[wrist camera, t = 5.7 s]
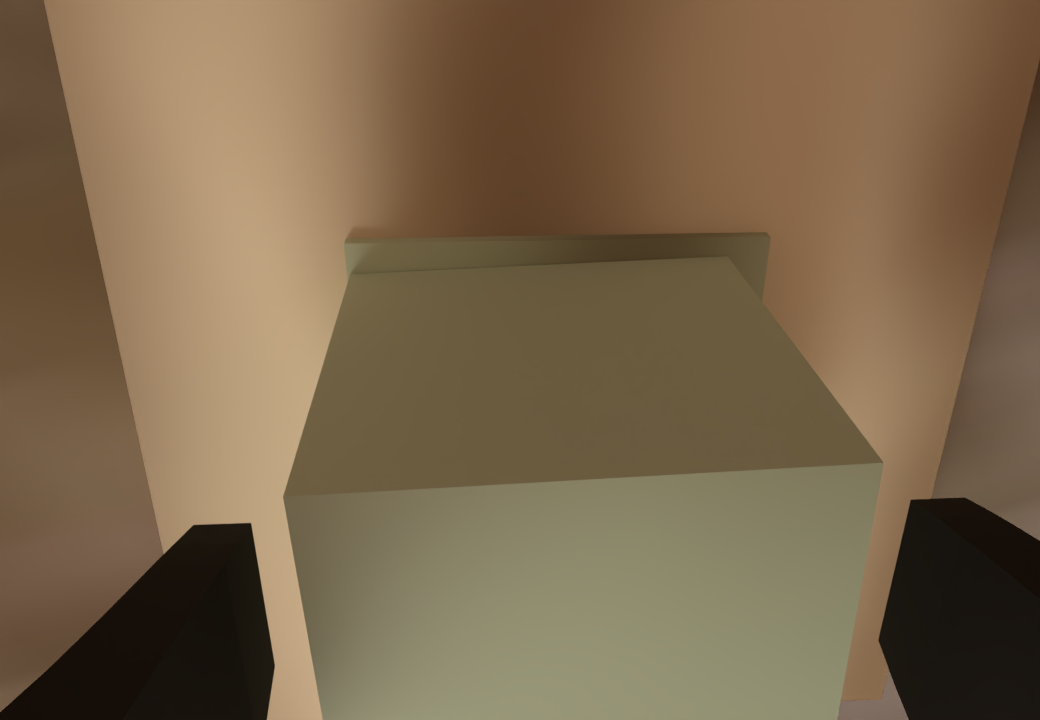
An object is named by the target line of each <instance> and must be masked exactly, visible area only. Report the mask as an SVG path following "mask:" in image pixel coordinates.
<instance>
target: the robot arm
mask: <svg viewBox="0 0 1040 720" xmlns="http://www.w3.org/2000/svg"><path fill="white" fill-rule="evenodd" d="M878 641H879V644H880V646H881V649H882V652H883V654H884V657H885V660H886V662H887V665H888V668H889V671H890V673H891V676H892V679H893V681H894V684H895V687H896V689H897V692H898V694H899V696H900V699H901V701H902V704H903V706H904V709H905V711H906V714H907V716H908V718H909V720H1040V541H1039V540H1037V539H1036V538H1034V537H1032V536H1031V535H1029V534H1028V533H1026V532H1024V531H1023V530H1021V529H1019V528H1018V527H1016V526H1014V525H1013V524H1011V523H1009V522H1008V521H1006V520H1004V519H1003V518H1001V517H999V516H997V515H996V514H994V513H992V512H990V511H989V510H987V509H985V508H983V507H981V506H980V505H978V504H976V503H974V502H972V501H970V500H968V499H966V498H942V499H913V500H910V505H909V509H908V513H907V518H906V522H905V526H904V531H903V535H902V539H901V544H900V548H899V552H898V557H897V561H896V565H895V570H894V574H893V578H892V583H891V587H890V591H889V596H888V600H887V604H886V609H885V613H884V617H883V622H882V626H881V630H880V635H879V639H878ZM274 669H275V663H274V657H273V651H272V645H271V639H270V633H269V627H268V621H267V615H266V609H265V603H264V597H263V591H262V585H261V579H260V573H259V567H258V561H257V555H256V549H255V543H254V537H253V531H252V525H251V523H233V524H204V525H193V526H192V527H191V528H190V529H189V530H188V531H187V532H186V533H185V534H184V535H183V536H182V537H181V538H180V539H179V540H178V541H177V542H176V543H175V544H174V545H172V546H171V547H170V548H169V549H168V550H167V551H166V552H165V553H164V554H163V556H162V557H161V558H160V559H159V560H158V561H157V562H156V563H155V564H154V565H153V566H152V567H151V568H150V569H149V570H148V571H147V572H146V573H145V574H144V575H143V576H142V577H141V578H140V579H139V580H138V581H137V582H136V583H135V584H134V585H133V586H132V587H131V588H130V589H129V590H128V591H127V592H126V593H125V594H124V595H123V596H122V597H121V598H120V599H119V600H118V601H117V602H116V603H115V604H114V605H113V606H112V607H111V608H110V609H109V610H108V611H107V612H106V613H105V614H104V615H103V616H102V617H101V618H100V619H99V620H98V621H97V622H96V623H95V624H94V625H93V626H92V627H91V628H90V629H89V630H88V631H87V632H86V633H85V634H84V635H83V636H82V637H81V638H80V639H79V640H78V641H77V642H76V643H75V644H74V645H73V646H72V647H71V648H70V649H68V650H67V651H66V652H65V653H64V654H63V655H62V656H61V657H60V658H59V659H58V660H57V661H56V662H55V663H54V664H53V665H52V666H51V667H50V668H49V669H48V670H47V671H46V672H45V673H44V674H42V675H41V676H40V677H39V678H38V679H37V680H36V681H35V682H34V683H32V684H31V685H30V686H29V687H28V688H27V689H26V690H25V691H23V692H22V693H21V694H20V695H19V696H18V697H17V698H16V699H15V700H13V701H12V702H11V703H10V704H9V705H8V706H7V707H6V708H5V709H3V710H2V711H1V712H0V720H267V715H268V709H269V702H270V696H271V689H272V683H273V676H274Z"/></svg>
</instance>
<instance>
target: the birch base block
mask: <svg viewBox="0 0 1040 720" xmlns="http://www.w3.org/2000/svg"><path fill="white" fill-rule="evenodd" d="M44 3H45V8H46V12H47V17H48V21H49V26H50V31H51V35H52V40H53V45H54V49H55V54H56V58H57V63H58V68H59V72H60V77H61V82H62V86H63V91H64V95H65V100H66V105H67V109H68V114H69V119H70V123H71V128H72V132H73V137H74V142H75V146H76V151H77V155H78V160H79V165H80V169H81V174H82V179H83V183H84V188H85V192H86V197H87V202H88V206H89V211H90V216H91V220H92V225H93V229H94V234H95V239H96V243H97V248H98V253H99V257H100V262H101V266H102V271H103V276H104V280H105V285H106V290H107V294H108V299H109V303H110V308H111V313H112V317H113V322H114V326H115V331H116V336H117V340H118V345H119V350H120V354H121V359H122V363H123V368H124V373H125V377H126V382H127V387H128V391H129V396H130V400H131V405H132V410H133V414H134V419H135V424H136V428H137V433H138V437H139V442H140V447H141V451H142V456H143V461H144V465H145V470H146V474H147V479H148V484H149V488H150V493H151V498H152V502H153V507H154V511H155V516H156V521H157V525H158V530H159V534H160V539H161V544H162V548H163V553H165V552H166V551H167V550H168V549H169V548H170V547H171V546H172V545H174V544H175V543H176V542H177V541H178V540H179V539H180V538H181V537H182V536H183V535H184V534H185V533H186V532H187V531H188V530H189V529H190V528H191V527H192V526H193V525H204V524H233V523H251V525H252V531H253V537H254V543H255V549H256V555H257V561H258V567H259V573H260V579H261V585H262V591H263V597H264V603H265V609H266V615H267V621H268V627H269V633H270V639H271V645H272V651H273V657H274V663H275V669H274V676H273V683H272V689H271V696H270V702H269V709H268V715H267V720H323V718H322V713H321V707H320V702H319V696H318V690H317V685H316V679H315V674H314V668H313V662H312V657H311V651H310V646H309V640H308V634H307V629H306V623H305V618H304V612H303V606H302V601H301V595H300V589H299V584H298V578H297V573H296V567H295V561H294V556H293V550H292V545H291V539H290V533H289V528H288V522H287V517H286V511H285V505H284V500H283V495H284V492H285V489H286V485H287V482H288V479H289V475H290V472H291V469H292V465H293V462H294V459H295V455H296V452H297V449H298V446H299V442H300V439H301V436H302V432H303V429H304V426H305V422H306V419H307V416H308V412H309V409H310V406H311V402H312V399H313V396H314V392H315V389H316V386H317V382H318V379H319V376H320V373H321V369H322V366H323V363H324V359H325V356H326V353H327V349H328V346H329V343H330V339H331V336H332V333H333V329H334V326H335V323H336V319H337V316H338V313H339V310H340V306H341V303H342V300H343V296H344V293H345V290H346V286H347V283H348V280H349V276H350V274H362V273H383V272H404V271H425V270H446V269H467V268H488V267H509V266H530V265H550V264H571V263H592V262H613V261H634V260H655V259H676V258H697V257H718V256H728V257H729V258H730V260H731V261H732V262H733V264H734V265H735V266H736V268H737V269H738V270H739V272H740V273H741V274H742V276H743V277H744V278H745V280H746V281H747V282H748V284H749V285H750V286H751V288H752V289H753V290H754V292H755V293H756V294H757V296H758V297H759V298H760V300H761V301H762V302H763V303H764V305H765V306H766V307H767V309H768V310H769V311H770V313H771V314H772V315H773V317H774V318H775V319H776V321H777V322H778V323H779V325H780V326H781V327H782V329H783V330H784V331H785V333H786V334H787V335H788V337H789V338H790V339H791V341H792V342H793V343H794V344H795V346H796V347H797V348H798V350H799V351H800V352H801V354H802V355H803V356H804V358H805V359H806V360H807V362H808V363H809V364H810V366H811V367H812V368H813V370H814V371H815V372H816V374H817V375H818V376H819V378H820V379H821V380H822V382H823V383H824V384H825V386H826V387H827V388H828V389H829V391H830V392H831V393H832V395H833V396H834V397H835V399H836V400H837V401H838V403H839V404H840V405H841V407H842V408H843V409H844V411H845V412H846V413H847V415H848V416H849V417H850V419H851V420H852V421H853V423H854V424H855V425H856V427H857V428H858V429H859V431H860V432H861V433H862V434H863V436H864V437H865V438H866V440H867V441H868V442H869V444H870V445H871V446H872V448H873V449H874V450H875V452H876V453H877V454H878V456H879V457H880V458H881V460H882V461H883V462H884V465H883V470H882V476H881V481H880V487H879V492H878V498H877V503H876V509H875V514H874V520H873V525H872V531H871V536H870V542H869V547H868V553H867V558H866V564H865V569H864V575H863V581H862V586H861V592H860V597H859V603H858V608H857V614H856V619H855V625H854V630H853V636H852V641H851V647H850V652H849V658H848V663H847V669H846V674H845V680H844V685H843V691H842V696H841V701H855V700H879V699H881V698H882V694H883V690H884V686H885V682H886V678H887V674H888V669H889V668H888V665H887V662H886V660H885V657H884V654H883V652H882V649H881V646H880V644H879V641H878V639H879V635H880V630H881V626H882V622H883V617H884V613H885V609H886V604H887V600H888V596H889V591H890V587H891V583H892V578H893V574H894V570H895V565H896V561H897V557H898V552H899V548H900V544H901V539H902V535H903V531H904V526H905V522H906V518H907V513H908V509H909V505H910V500H913V499H931V496H932V492H933V488H934V484H935V480H936V476H937V472H938V468H939V464H940V460H941V456H942V452H943V448H944V444H945V440H946V436H947V432H948V428H949V424H950V420H951V415H952V411H953V407H954V403H955V399H956V395H957V391H958V387H959V383H960V379H961V375H962V371H963V367H964V363H965V359H966V355H967V351H968V347H969V343H970V339H971V335H972V331H973V327H974V323H975V319H976V315H977V311H978V307H979V303H980V299H981V295H982V291H983V286H984V282H985V278H986V274H987V270H988V266H989V262H990V258H991V254H992V250H993V246H994V242H995V238H996V234H997V230H998V226H999V222H1000V218H1001V214H1002V210H1003V206H1004V202H1005V198H1006V194H1007V190H1008V186H1009V182H1010V178H1011V174H1012V170H1013V166H1014V161H1015V157H1016V153H1017V149H1018V145H1019V141H1020V137H1021V133H1022V129H1023V125H1024V121H1025V117H1026V113H1027V109H1028V105H1029V101H1030V97H1031V93H1032V89H1033V85H1034V81H1035V77H1036V73H1037V69H1038V65H1039V61H1040V0H44Z"/></svg>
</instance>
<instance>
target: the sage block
mask: <svg viewBox="0 0 1040 720" xmlns="http://www.w3.org/2000/svg"><path fill="white" fill-rule="evenodd" d="M883 465H884V462H883V461H882V460H881V458H880V457H879V456H878V454H877V453H876V452H875V450H874V449H873V448H872V446H871V445H870V444H869V442H868V441H867V440H866V438H865V437H864V436H863V434H862V433H861V432H860V431H859V429H858V428H857V427H856V425H855V424H854V423H853V421H852V420H851V419H850V417H849V416H848V415H847V413H846V412H845V411H844V409H843V408H842V407H841V405H840V404H839V403H838V401H837V400H836V399H835V397H834V396H833V395H832V393H831V392H830V391H829V389H828V388H827V387H826V386H825V384H824V383H823V382H822V380H821V379H820V378H819V376H818V375H817V374H816V372H815V371H814V370H813V368H812V367H811V366H810V364H809V363H808V362H807V360H806V359H805V358H804V356H803V355H802V354H801V352H800V351H799V350H798V348H797V347H796V346H795V344H794V343H793V342H792V341H791V339H790V338H789V337H788V335H787V334H786V333H785V331H784V330H783V329H782V327H781V326H780V325H779V323H778V322H777V321H776V319H775V318H774V317H773V315H772V314H771V313H770V311H769V310H768V309H767V307H766V306H765V305H764V303H763V302H762V301H761V300H760V298H759V297H758V296H757V294H756V293H755V292H754V290H753V289H752V288H751V286H750V285H749V284H748V282H747V281H746V280H745V278H744V277H743V276H742V274H741V273H740V272H739V270H738V269H737V268H736V266H735V265H734V264H733V262H732V261H731V260H730V258H729V257H728V256H718V257H697V258H676V259H655V260H634V261H613V262H592V263H571V264H550V265H530V266H509V267H488V268H467V269H446V270H425V271H404V272H383V273H362V274H350V276H349V280H348V283H347V286H346V290H345V293H344V296H343V300H342V303H341V306H340V310H339V313H338V316H337V319H336V323H335V326H334V329H333V333H332V336H331V339H330V343H329V346H328V349H327V353H326V356H325V359H324V363H323V366H322V369H321V373H320V376H319V379H318V382H317V386H316V389H315V392H314V396H313V399H312V402H311V406H310V409H309V412H308V416H307V419H306V422H305V426H304V429H303V432H302V436H301V439H300V442H299V446H298V449H297V452H296V455H295V459H294V462H293V465H292V469H291V472H290V475H289V479H288V482H287V485H286V489H285V492H284V495H283V500H284V505H285V511H286V517H287V522H288V528H289V533H290V539H291V545H292V550H293V556H294V561H295V567H296V573H297V578H298V584H299V589H300V595H301V601H302V606H303V612H304V618H305V623H306V629H307V634H308V640H309V646H310V651H311V657H312V662H313V668H314V674H315V679H316V685H317V690H318V696H319V702H320V707H321V713H322V718H323V720H837V718H838V713H839V707H840V702H841V696H842V691H843V685H844V680H845V674H846V669H847V663H848V658H849V652H850V647H851V641H852V636H853V630H854V625H855V619H856V614H857V608H858V603H859V597H860V592H861V586H862V581H863V575H864V569H865V564H866V558H867V553H868V547H869V542H870V536H871V531H872V525H873V520H874V514H875V509H876V503H877V498H878V492H879V487H880V481H881V476H882V470H883Z"/></svg>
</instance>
